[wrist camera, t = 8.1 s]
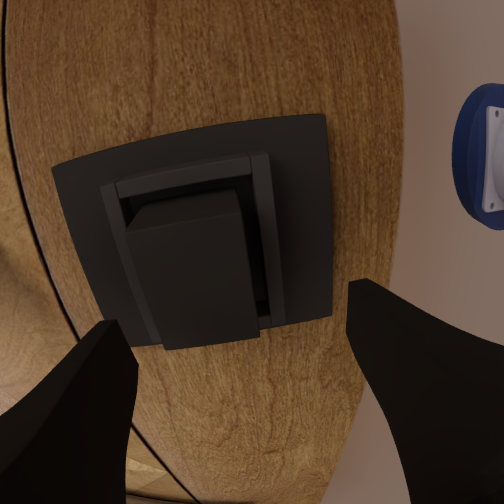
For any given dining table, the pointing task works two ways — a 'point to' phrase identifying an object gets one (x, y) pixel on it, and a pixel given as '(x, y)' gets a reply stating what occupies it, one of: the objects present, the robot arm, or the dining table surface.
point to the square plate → (146, 500)
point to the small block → (195, 268)
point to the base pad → (201, 179)
